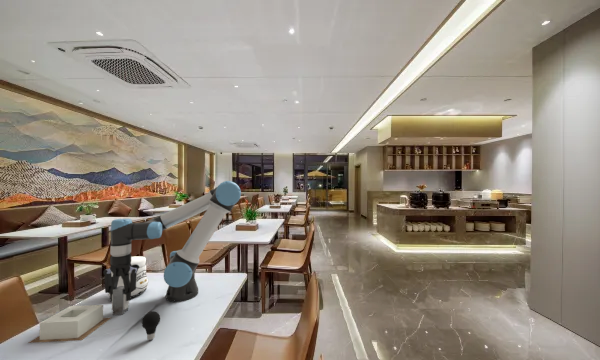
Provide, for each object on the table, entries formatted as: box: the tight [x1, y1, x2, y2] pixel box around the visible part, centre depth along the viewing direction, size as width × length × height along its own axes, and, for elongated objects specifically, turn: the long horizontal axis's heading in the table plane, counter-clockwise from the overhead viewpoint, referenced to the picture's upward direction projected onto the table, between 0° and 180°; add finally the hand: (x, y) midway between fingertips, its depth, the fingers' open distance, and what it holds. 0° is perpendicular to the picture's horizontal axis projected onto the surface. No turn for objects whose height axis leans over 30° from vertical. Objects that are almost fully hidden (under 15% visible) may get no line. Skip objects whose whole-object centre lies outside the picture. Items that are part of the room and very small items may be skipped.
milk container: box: [108, 255, 149, 298], centre depth 133 cm, size 17×17×18 cm
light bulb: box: [141, 310, 161, 341], centre depth 92 cm, size 6×6×10 cm
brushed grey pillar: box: [112, 286, 129, 316], centre depth 111 cm, size 4×4×12 cm
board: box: [27, 317, 113, 344], centre depth 98 cm, size 18×16×1 cm
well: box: [39, 304, 104, 340], centre depth 98 cm, size 13×13×6 cm
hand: (120, 308), depth 110 cm, fingers closed on brushed grey pillar, 4 cm apart
